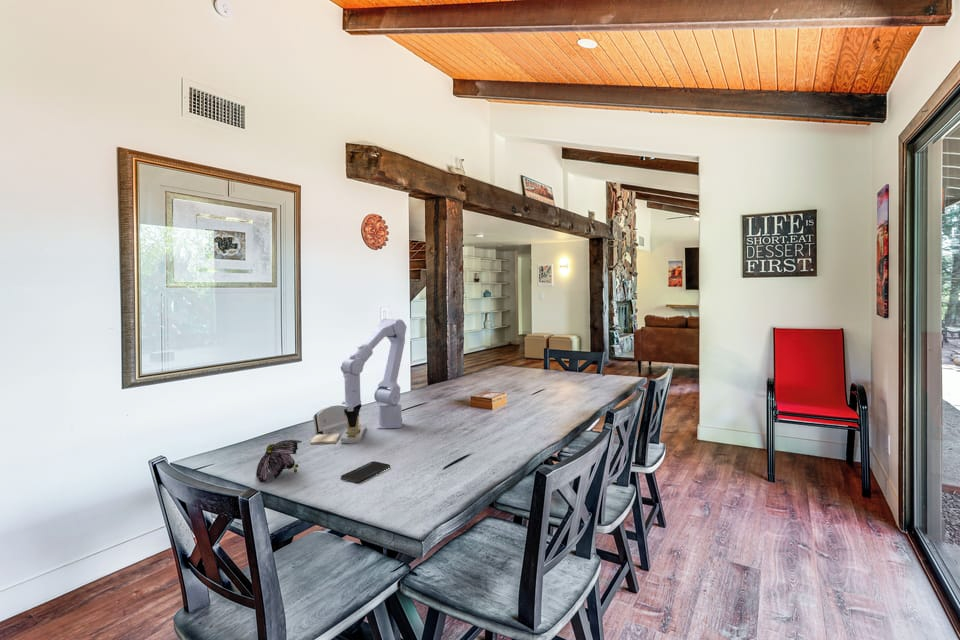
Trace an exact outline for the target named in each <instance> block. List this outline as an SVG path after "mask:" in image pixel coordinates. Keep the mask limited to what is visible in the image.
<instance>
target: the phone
mask: <svg viewBox="0 0 960 640" xmlns="http://www.w3.org/2000/svg"><path fill="white" fill-rule="evenodd" d="M388 468H390V469H391V464H389V463H385V462H380V461H379V462H378V461H370V462H367V463H365V464H363V465H361V466H359V467H357V468H355V469H353V470H350V471H347V472H346V473H344V474H342V475H341V476H340V480H342V481H345V480H346V482H348V483H349V482H350V483H353V482H354V484H360V483H361V482H362V483H363V481H364V482H365V480H366V481H367V479H368V480H369V478H370V479H372V478H373V476H374V477H376V476H377V475H376V474H378V475H379V473H380V472H382V471H384V470H386V469H388ZM388 470H389V469H388ZM386 471H387V470H386ZM384 472H385V471H384ZM382 473H383V472H382ZM380 474H381V473H380ZM375 475H376V476H375ZM371 477H372V478H371Z"/></svg>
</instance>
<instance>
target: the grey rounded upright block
mask: <svg viewBox="0 0 960 640" xmlns="http://www.w3.org/2000/svg"><path fill="white" fill-rule="evenodd" d="M344 409H347V406H346V405H342V404H341V405H337V404H336V405H331V406H328V407H327V406H326V407H324V408H323V409H320V410H319V411H317V412H316V413H314V415H313V416H312V420H313V424H314V425H313V426H314V433H315V432H316V433H315V434H317V433H319V432H322V435H323V434H326V433H327V434H329V433H328V432H330V433H333V432H336V431H338V429H339V430H342V429H341V428H343V429H345V428H344V427H346V428H347V416H346V414H345V413H344ZM335 430H336V431H335ZM332 431H333V432H332Z"/></svg>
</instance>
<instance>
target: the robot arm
mask: <svg viewBox="0 0 960 640" xmlns="http://www.w3.org/2000/svg"><path fill="white" fill-rule="evenodd" d="M376 326H377V328H376V329H375V331H373V334H372V335H371V336H370V337H369V339H368V340H367V341H366V343H362V344H359V345H358V346H357V349H356V350H354V352H353V353H352V354H350V356H349V358H346V359H344V360H343V361H342V363H341V366H340V371H341V372H342V375H343V377H344V378H343V379H344V401H343V400H342V402H341V405H344V406H346V407H347V409H344V413H345V414H346V416H347V419H348V423H349V427H356V421H357V415H358V414H359V415H360V411H361V407H362V405H363V404H362V399H361V374H362V372H363V370H364V366H365V363H366V362H367V361H368V360H369V359H370V358H371V356H372V355H373V354H374V353H373V352H374V351H373V349H374V348H375V347H377V346H378V344H379V343H380V342H381V341H382V340H384V338H387V339H388V340H389V342H390V346H389V347H390V348H389V352H388V356H387V361H386V366H385V370H384V376H383V380H381V381H380V382H378V384H377V388H376V390H375V391H374V396H373V397H374V400H375V401H376V403H377V405H378V424H377V427H376V429H377V430H379V429H382V430H383V429H400V428H402V424H403V418H402V417H403V416H402V411H403V410H402V404H401V403H400V400H401V386H400V385H399V383H398V377H399V373H400V367H401V364H402V358H403V353H404V349H405V348H404V347H405V344H406V343H405V342H406V332H407V325H406V323H405V321H404V320H403V319H394V318H393V319H389V318H383V319H382V320H381V319H380V322H379V323H377V325H376ZM398 403H399V404H398Z"/></svg>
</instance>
